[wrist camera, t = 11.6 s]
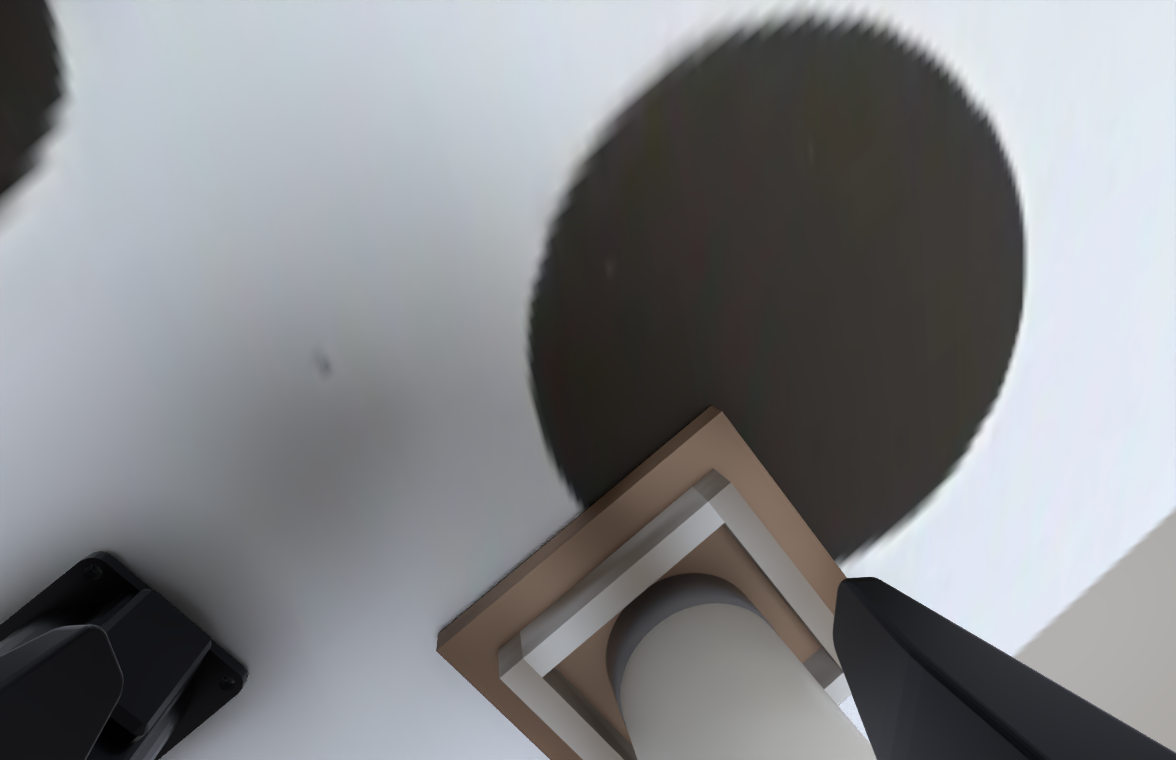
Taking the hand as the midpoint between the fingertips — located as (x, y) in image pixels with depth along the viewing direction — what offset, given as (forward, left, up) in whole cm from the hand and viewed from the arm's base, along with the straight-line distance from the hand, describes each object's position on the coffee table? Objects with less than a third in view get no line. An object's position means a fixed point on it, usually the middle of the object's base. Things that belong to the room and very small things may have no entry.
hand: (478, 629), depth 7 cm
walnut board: (0, -12, -13) cm, 18 cm away
